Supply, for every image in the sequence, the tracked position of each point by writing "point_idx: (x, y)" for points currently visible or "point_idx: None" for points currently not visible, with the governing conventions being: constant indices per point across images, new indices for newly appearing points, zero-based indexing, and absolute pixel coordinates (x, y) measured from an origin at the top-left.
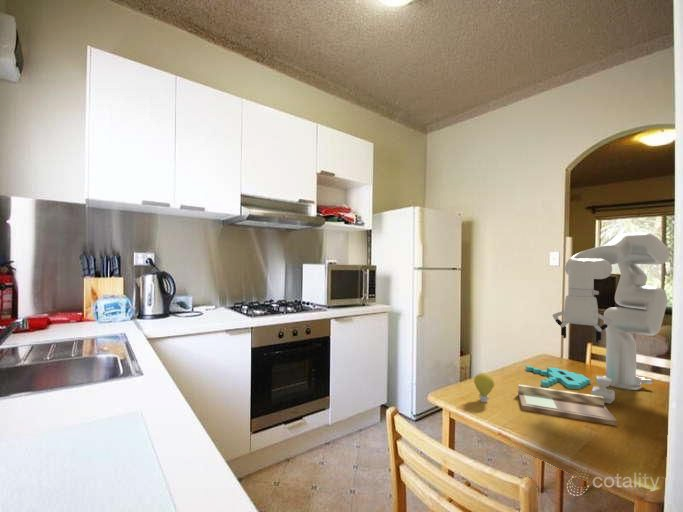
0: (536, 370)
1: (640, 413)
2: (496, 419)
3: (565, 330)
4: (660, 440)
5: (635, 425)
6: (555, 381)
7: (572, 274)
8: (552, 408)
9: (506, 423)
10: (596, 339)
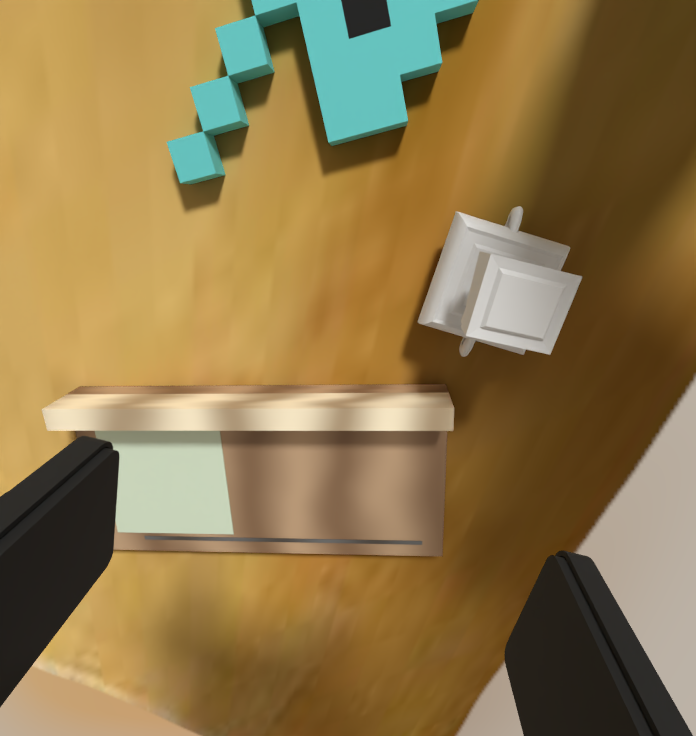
0: None
1: (605, 377)
2: None
3: (12, 685)
4: None
5: (515, 513)
6: (262, 71)
7: None
8: (216, 535)
9: (82, 648)
10: (521, 700)
